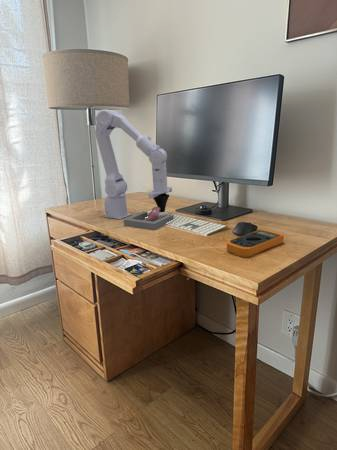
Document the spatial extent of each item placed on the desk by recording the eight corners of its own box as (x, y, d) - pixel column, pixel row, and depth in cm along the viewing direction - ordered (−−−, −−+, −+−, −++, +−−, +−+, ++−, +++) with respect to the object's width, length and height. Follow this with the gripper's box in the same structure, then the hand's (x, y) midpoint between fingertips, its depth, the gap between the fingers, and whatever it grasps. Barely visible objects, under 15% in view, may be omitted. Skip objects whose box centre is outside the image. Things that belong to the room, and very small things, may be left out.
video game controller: (154, 228, 123) (161, 212, 120) (143, 223, 122) (150, 207, 120) (157, 221, 132) (163, 206, 130) (147, 216, 132) (153, 202, 130)
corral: (124, 225, 123) (123, 219, 123) (144, 217, 134) (143, 211, 133) (154, 230, 115) (154, 223, 114) (173, 221, 125) (173, 215, 125)
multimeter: (223, 251, 92) (223, 241, 91) (262, 237, 102) (262, 227, 101) (245, 260, 86) (246, 248, 85) (285, 244, 96) (285, 233, 95)
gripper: (157, 182, 119) (159, 217, 123) (177, 177, 131) (179, 208, 135) (142, 182, 123) (145, 215, 127) (163, 176, 134) (165, 207, 138)
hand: (161, 211), depth 131 cm, fingers closed
